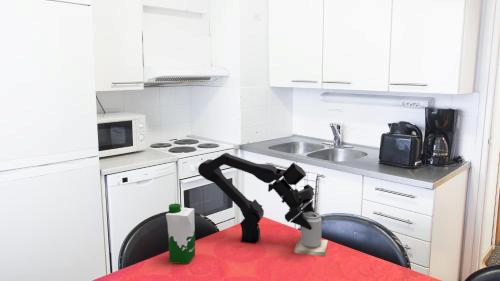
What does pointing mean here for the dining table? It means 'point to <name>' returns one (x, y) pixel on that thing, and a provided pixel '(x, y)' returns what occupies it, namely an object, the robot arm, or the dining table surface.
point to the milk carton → (181, 234)
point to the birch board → (311, 251)
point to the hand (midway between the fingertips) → (314, 224)
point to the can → (312, 230)
